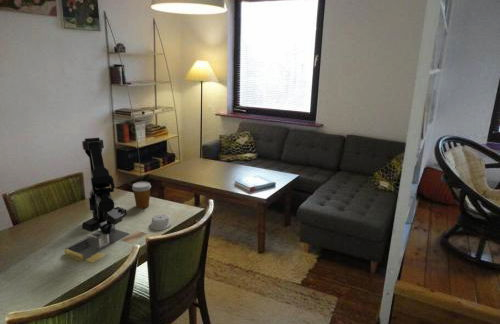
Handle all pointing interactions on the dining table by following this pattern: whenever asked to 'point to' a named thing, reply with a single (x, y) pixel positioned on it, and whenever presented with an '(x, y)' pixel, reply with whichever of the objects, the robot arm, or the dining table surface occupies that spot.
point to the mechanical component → (160, 222)
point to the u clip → (98, 239)
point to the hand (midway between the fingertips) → (107, 236)
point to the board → (133, 237)
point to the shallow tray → (84, 250)
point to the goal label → (95, 257)
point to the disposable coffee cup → (141, 194)
